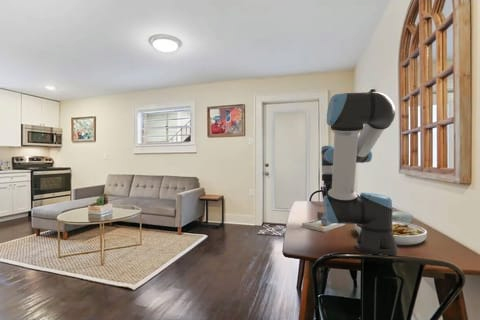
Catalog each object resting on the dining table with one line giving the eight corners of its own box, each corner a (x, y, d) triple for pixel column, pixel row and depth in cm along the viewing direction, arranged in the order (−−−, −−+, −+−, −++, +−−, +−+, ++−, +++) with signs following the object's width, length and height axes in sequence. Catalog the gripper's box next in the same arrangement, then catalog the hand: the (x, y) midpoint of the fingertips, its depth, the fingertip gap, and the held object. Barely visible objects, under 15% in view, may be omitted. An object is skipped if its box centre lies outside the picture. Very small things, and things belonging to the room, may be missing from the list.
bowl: (412, 230, 135) (412, 215, 135) (439, 250, 106) (439, 231, 106) (351, 227, 143) (350, 213, 143) (361, 244, 114) (360, 227, 114)
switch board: (323, 231, 133) (323, 227, 133) (301, 226, 144) (301, 222, 144) (345, 224, 147) (345, 221, 147) (324, 220, 158) (324, 216, 158)
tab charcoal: (322, 219, 150) (322, 213, 150) (317, 218, 152) (317, 212, 152) (326, 218, 152) (326, 212, 152) (321, 217, 155) (321, 211, 155)
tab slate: (326, 225, 137) (326, 218, 137) (321, 224, 139) (321, 217, 139) (331, 224, 139) (331, 217, 139) (325, 223, 142) (325, 216, 142)
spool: (406, 217, 149) (406, 204, 145) (417, 228, 141) (417, 215, 136) (382, 222, 151) (382, 209, 146) (391, 234, 142) (391, 221, 138)
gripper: (329, 173, 148) (330, 214, 148) (316, 173, 140) (316, 217, 140) (341, 173, 142) (342, 216, 142) (328, 174, 134) (329, 219, 134)
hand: (329, 216), depth 141 cm, fingers closed
